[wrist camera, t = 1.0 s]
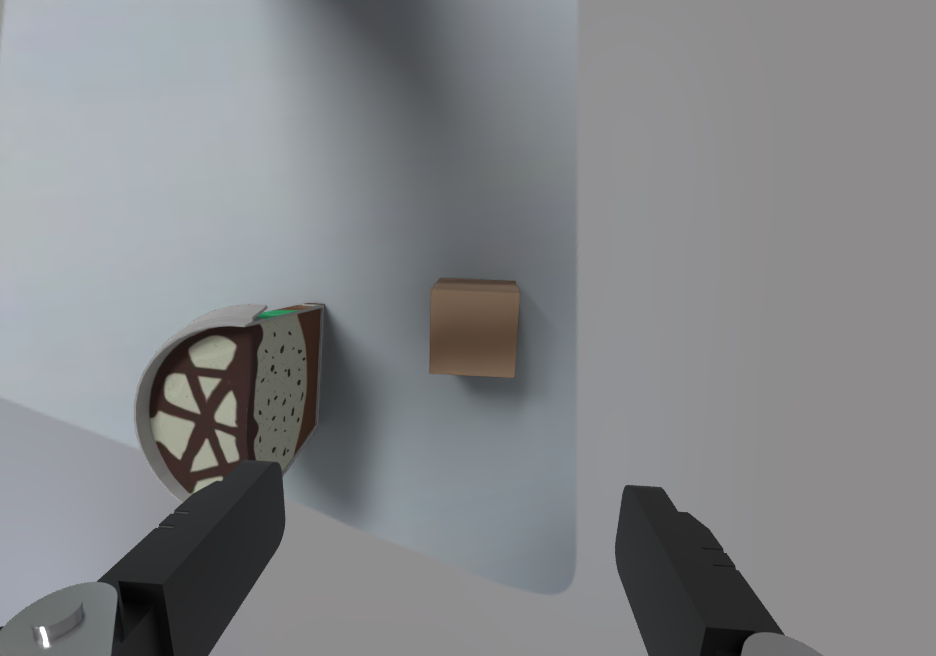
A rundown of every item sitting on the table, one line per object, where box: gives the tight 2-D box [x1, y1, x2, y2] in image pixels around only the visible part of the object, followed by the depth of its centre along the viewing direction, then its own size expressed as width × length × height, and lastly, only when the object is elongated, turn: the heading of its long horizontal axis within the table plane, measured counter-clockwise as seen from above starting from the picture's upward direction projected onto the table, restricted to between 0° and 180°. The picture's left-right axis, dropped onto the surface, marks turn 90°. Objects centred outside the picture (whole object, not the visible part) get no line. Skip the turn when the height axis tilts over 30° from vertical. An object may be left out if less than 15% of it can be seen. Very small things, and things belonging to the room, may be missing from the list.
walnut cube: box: [429, 278, 520, 378], centre depth 27 cm, size 5×5×5 cm
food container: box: [134, 303, 324, 504], centre depth 26 cm, size 12×6×10 cm, turn 172°
